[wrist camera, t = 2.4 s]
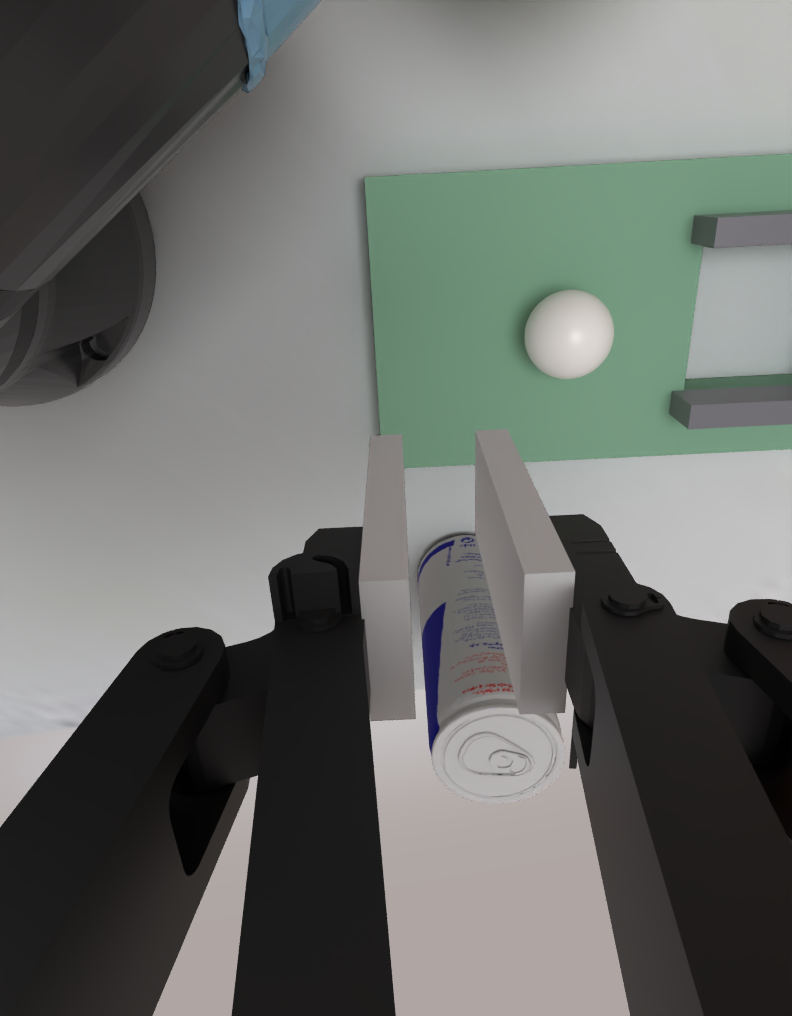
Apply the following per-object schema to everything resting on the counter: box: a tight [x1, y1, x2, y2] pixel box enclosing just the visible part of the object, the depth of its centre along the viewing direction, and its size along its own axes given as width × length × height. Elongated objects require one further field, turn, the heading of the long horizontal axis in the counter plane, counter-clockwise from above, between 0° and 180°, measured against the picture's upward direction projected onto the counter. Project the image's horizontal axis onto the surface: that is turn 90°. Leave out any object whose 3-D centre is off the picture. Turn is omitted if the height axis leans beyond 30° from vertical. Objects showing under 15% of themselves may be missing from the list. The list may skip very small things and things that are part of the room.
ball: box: [524, 289, 614, 379], centre depth 31 cm, size 4×4×4 cm
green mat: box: [364, 154, 792, 468], centre depth 34 cm, size 24×14×2 cm, turn 93°
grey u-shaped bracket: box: [669, 210, 792, 429], centre depth 32 cm, size 9×9×2 cm
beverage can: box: [417, 535, 565, 804], centre depth 35 cm, size 6×6×15 cm
